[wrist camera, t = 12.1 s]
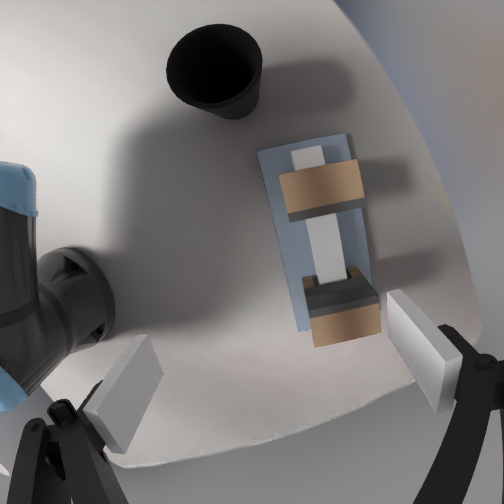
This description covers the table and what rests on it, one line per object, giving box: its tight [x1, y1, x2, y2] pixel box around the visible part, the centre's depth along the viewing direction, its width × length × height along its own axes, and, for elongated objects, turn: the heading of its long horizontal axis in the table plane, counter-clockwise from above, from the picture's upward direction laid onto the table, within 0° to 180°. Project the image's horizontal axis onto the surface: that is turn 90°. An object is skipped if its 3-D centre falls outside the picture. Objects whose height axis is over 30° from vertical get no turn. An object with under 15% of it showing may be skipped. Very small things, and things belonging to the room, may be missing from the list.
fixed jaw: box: [278, 159, 367, 223], centre depth 29 cm, size 7×4×9 cm, turn 104°
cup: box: [166, 24, 263, 120], centre depth 26 cm, size 8×8×12 cm
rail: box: [257, 133, 373, 332], centre depth 34 cm, size 10×22×4 cm, turn 14°
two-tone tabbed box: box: [302, 266, 381, 348], centre depth 32 cm, size 7×4×9 cm, turn 103°
